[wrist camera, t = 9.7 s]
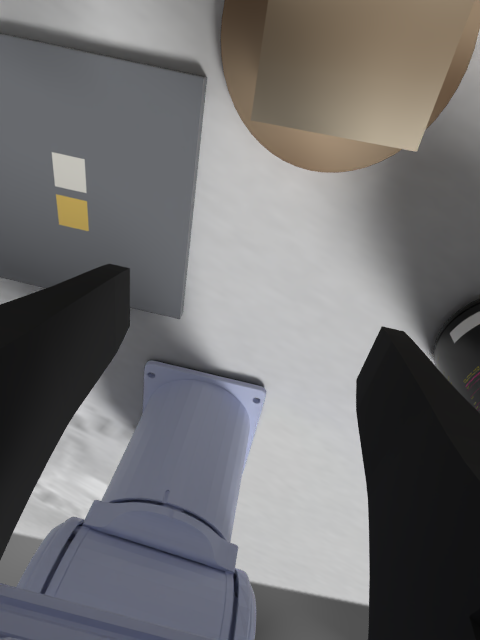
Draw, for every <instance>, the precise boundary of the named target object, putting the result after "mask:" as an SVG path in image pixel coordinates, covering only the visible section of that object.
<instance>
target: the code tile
mask: <svg viewBox="0 0 480 640" xmlns="http://www.w3.org/2000/svg"><path fill="white" fill-rule="evenodd" d="M206 82H207V77H203V76H199V75H194V74H189V73H185V72H180V71H175V70H171V69H166V68H161V67H157V66H152V65H147V64H143V63H138V62H133V61H129V60H124V59H119V58H115V57H110V56H105V55H100V54H96V53H91V52H86V51H82V50H77V49H72V48H68V47H63V46H58V45H54V44H49V43H44V42H40V41H35V40H30V39H26V38H21V37H16V36H12V35H7V34H2V33H0V277H2V278H6V279H11V280H15V281H19V282H23V283H28V284H32V285H36V286H40V287H45V288H49V287H51V286H54V285H56V284H58V283H61V282H63V281H66V280H68V279H71V278H73V277H76V276H78V275H80V274H83V273H85V272H88V271H90V270H92V269H95V268H98V267H100V266H103V265H106V264H114V265H118V266H122V267H127V268H130V308H134V309H139V310H143V311H147V312H151V313H156V314H160V315H164V316H169V317H173V318H177V319H180V318H181V316H182V314H183V306H184V296H185V286H186V276H187V267H188V257H189V247H190V238H191V228H192V218H193V208H194V199H195V189H196V179H197V170H198V160H199V150H200V140H201V131H202V121H203V111H204V102H205V92H206Z"/></svg>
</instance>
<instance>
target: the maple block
mask: <svg viewBox="0 0 480 640" xmlns="http://www.w3.org/2000/svg"><path fill="white" fill-rule="evenodd" d="M474 2H475V0H268V5H267V12H266V19H265V26H264V33H263V40H262V46H261V53H260V60H259V67H258V74H257V81H256V87H255V94H254V101H253V108H252V115H251V120H252V121H257V122H262V123H267V124H273V125H278V126H283V127H288V128H294V129H299V130H304V131H309V132H315V133H320V134H325V135H331V136H336V137H341V138H346V139H352V140H357V141H362V142H367V143H373V144H378V145H383V146H389V147H394V148H399V149H404V150H410V151H415V152H417V150H418V147H419V145H420V142H421V139H422V137H423V134H424V132H425V129H426V126H427V124H428V121H429V119H430V116H431V114H432V111H433V108H434V106H435V103H436V101H437V98H438V95H439V93H440V90H441V88H442V85H443V82H444V80H445V77H446V75H447V72H448V69H449V67H450V64H451V62H452V59H453V56H454V54H455V51H456V49H457V46H458V43H459V41H460V38H461V36H462V33H463V30H464V28H465V25H466V23H467V20H468V17H469V15H470V12H471V10H472V7H473V4H474Z"/></svg>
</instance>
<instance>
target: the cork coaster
mask: <svg viewBox="0 0 480 640" xmlns="http://www.w3.org/2000/svg"><path fill="white" fill-rule="evenodd" d="M267 5H268V0H225V2H224V8H223V14H222V25H221V56H222V63H223V70H224V76H225V79H226V83H227V87H228V91H229V93H230V96H231V99H232V101H233V104H234V106H235V108H236V110H237V112H238V114H239V116H240V118H241V119H242V121H243V123H244V124H245V125H246V127H247V128H248V130H249V131H250V133H251V134H252V135H253V136H254V137H255V138H256V139H257V140H258V141H259V143H260V144H261V145H263V146H264V147H265V148H266V149H267V150H269V151H270V152H271V153H272V154H274V155H275V156H277V157H279V158H280V159H282V160H283V161H286V162H288V163H290V164H292V165H294V166H297V167H300V168H304V169H307V170H311V171H318V172H346V171H353V170H357V169H361V168H365V167H368V166H371V165H373V164H376V163H378V162H381V161H383V160H385V159H387V158H389V157H390V156H392V155H394V154H396V153H397V152H399V151H400V150H402V149H399V148H394V147H389V146H383V145H378V144H373V143H367V142H362V141H357V140H352V139H346V138H341V137H336V136H331V135H325V134H320V133H315V132H309V131H304V130H299V129H294V128H288V127H283V126H278V125H273V124H267V123H262V122H257V121H252V120H251V115H252V108H253V101H254V94H255V87H256V81H257V74H258V67H259V60H260V53H261V46H262V40H263V33H264V26H265V19H266V12H267ZM479 28H480V0H475V2H474V4H473V7H472V10H471V12H470V15H469V17H468V20H467V23H466V25H465V28H464V30H463V33H462V36H461V38H460V41H459V43H458V46H457V49H456V51H455V54H454V56H453V59H452V62H451V64H450V67H449V69H448V72H447V75H446V77H445V80H444V82H443V85H442V88H441V90H440V93H439V95H438V98H437V101H436V103H435V106H434V108H433V111H432V114H431V116H430V119H429V121H428V124H427V126H426V129H427V128H428V127H429V126H430V125H431V124H432V123H433V122H434V121H435V120H436V118H437V117H438V116H439V114H440V113H441V112H442V111H443V109H444V108H445V107H446V105H447V104H448V102H449V101H450V99H451V98H452V96H453V94H454V93H455V91H456V90H457V88H458V86H459V84H460V82H461V80H462V78H463V76H464V74H465V72H466V70H467V67H468V65H469V62H470V59H471V56H472V54H473V51H474V48H475V44H476V40H477V36H478V32H479ZM426 129H425V130H426Z"/></svg>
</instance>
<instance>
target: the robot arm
mask: <svg viewBox="0 0 480 640" xmlns="http://www.w3.org/2000/svg"><path fill="white" fill-rule="evenodd" d="M129 326H130V268H127V267H122V266H118V265H114V264H106V265H103V266H100V267H98V268H95V269H92V270H90V271H88V272H85V273H83V274H80V275H78V276H76V277H73V278H71V279H68V280H66V281H63V282H61V283H58V284H56V285H54V286H51V287H49V288H46V289H43V290H41V291H38V292H35V293H32V294H30V295H27V296H24V297H21V298H18V299H16V300H13V301H10V302H7V303H4V304H1V305H0V560H1V557H2V555H3V553H4V551H5V548H6V546H7V544H8V542H9V540H10V537H11V535H12V533H13V531H14V529H15V527H16V524H17V522H18V520H19V518H20V516H21V514H22V512H23V510H24V508H25V506H26V504H27V502H28V500H29V497H30V495H31V493H32V491H33V489H34V487H35V485H36V483H37V481H38V479H39V478H40V476H41V474H42V472H43V470H44V468H45V466H46V464H47V462H48V460H49V458H50V456H51V454H52V452H53V451H54V449H55V447H56V445H57V443H58V441H59V440H60V438H61V436H62V434H63V432H64V430H65V429H66V427H67V425H68V424H69V422H70V420H71V419H72V417H73V416H74V414H75V412H76V411H77V410H78V408H79V407H80V405H81V404H82V402H83V401H84V399H85V398H86V397H87V395H88V394H89V392H90V391H91V389H92V388H93V387H94V385H95V384H96V382H97V381H98V379H99V378H100V376H101V375H102V374H103V372H104V371H105V369H106V368H107V366H108V365H109V363H110V362H111V360H112V359H113V357H114V356H115V354H116V353H117V351H118V349H119V347H120V345H121V343H122V341H123V339H124V337H125V335H126V333H127V331H128V328H129ZM150 372H152V373H154V374H151V373H150ZM265 397H266V390H265V388H263V387H261V386H258V385H254V384H250V383H246V382H241V381H237V380H233V379H229V378H225V377H220V376H216V375H212V374H208V373H204V372H199V371H195V370H191V369H187V368H183V367H178V366H174V365H170V364H166V363H162V362H157V361H152V360H151V361H148V362H147V363H146V365H145V367H144V392H143V414H142V417H141V419H140V421H139V423H138V425H137V427H136V429H135V431H134V433H133V435H132V438H131V440H130V442H129V444H128V446H127V448H126V450H125V452H124V454H123V456H122V459H121V461H120V463H119V465H118V467H117V469H116V471H115V473H114V475H113V477H112V480H111V482H110V484H109V486H108V488H107V490H106V492H105V494H104V496H103V498H102V501H99V500H94V502H93V504H92V506H91V508H90V510H89V512H88V514H87V516H86V518H85V520H83V519H80V518H77V517H71V518H69V519H67V520H66V521H65V522H64V523H62V524H60V525H58V526H56V527H55V528H54V529H52V530H51V531H50V533H49V534H48V535H47V536H46V538H45V539H44V540H43V542H42V543H41V545H40V546H39V548H38V550H37V551H36V553H35V554H34V556H33V557H32V559H31V561H30V563H29V565H28V566H27V568H26V570H25V572H24V573H23V575H22V577H21V579H20V581H19V583H18V585H17V587H13V586H9V585H6V584H2V583H0V640H255V628H256V600H255V595H254V591H253V589H252V587H251V585H250V582H249V578H248V576H247V574H246V572H244V571H242V570H239V569H236V568H235V564H236V558H237V551H238V546H237V545H235V544H232V543H230V541H231V535H232V529H233V523H234V518H235V512H236V506H237V500H238V494H239V489H240V483H241V477H242V474H243V471H244V467H245V464H246V461H247V457H248V454H249V451H250V447H251V444H252V441H253V437H254V434H255V431H256V427H257V424H258V421H259V417H260V414H261V411H262V407H263V404H264V401H265ZM255 398H259V399H255ZM356 411H357V419H358V427H359V434H360V441H361V448H362V455H363V462H364V469H365V476H366V483H367V493H368V510H369V553H370V589H369V634H368V635H369V636H368V640H480V413H479V412H478V411H477V410H476V409H475V408H474V407H473V406H472V405H471V404H470V403H469V402H468V401H467V400H466V399H465V398H464V397H463V396H462V395H461V394H460V393H459V392H458V391H457V389H456V388H455V387H454V386H453V385H452V384H451V383H450V382H449V381H448V380H447V379H446V378H445V376H444V375H443V374H442V373H441V372H440V371H439V370H438V369H437V367H436V366H435V365H434V364H433V363H432V362H431V361H430V359H429V358H428V357H427V356H426V355H425V354H424V353H423V351H422V350H421V349H420V348H419V347H418V346H417V345H416V344H415V342H414V341H413V340H412V339H411V338H410V337H409V336H408V335H407V334H406V333H405V332H404V331H399V330H395V329H391V328H386V327H381V330H380V332H379V334H378V336H377V338H376V340H375V342H374V344H373V346H372V348H371V351H370V353H369V355H368V357H367V359H366V361H365V363H364V365H363V367H362V369H361V371H360V374H359V376H358V378H357V387H356Z"/></svg>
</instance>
